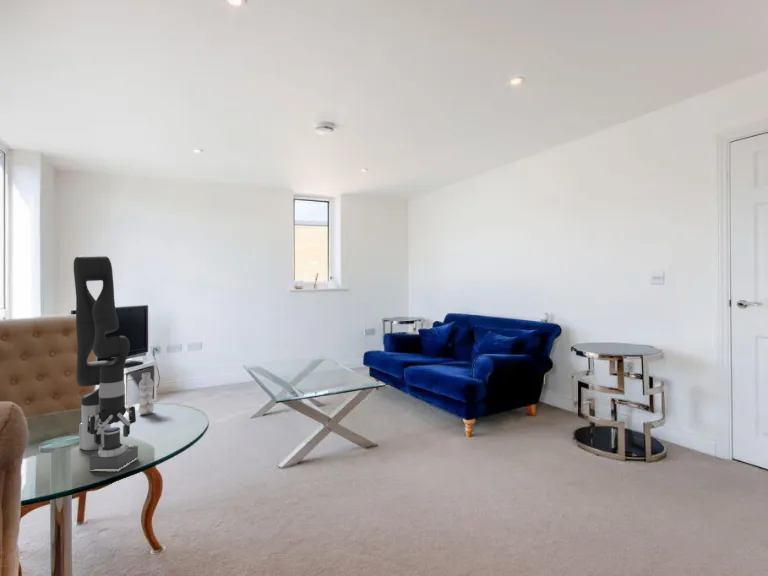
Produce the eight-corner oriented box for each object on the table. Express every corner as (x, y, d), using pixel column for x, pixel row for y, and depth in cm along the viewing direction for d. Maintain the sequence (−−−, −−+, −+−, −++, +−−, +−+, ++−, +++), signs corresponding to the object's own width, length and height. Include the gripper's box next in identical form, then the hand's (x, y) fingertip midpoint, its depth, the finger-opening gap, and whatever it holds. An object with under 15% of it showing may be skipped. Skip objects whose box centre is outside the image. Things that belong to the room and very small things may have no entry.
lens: (107, 456, 136) (107, 432, 136) (101, 453, 139) (100, 429, 139) (123, 451, 140) (122, 428, 140) (116, 448, 143) (116, 425, 143)
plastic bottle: (150, 411, 200) (150, 371, 200) (156, 413, 196) (156, 373, 196) (136, 414, 195) (136, 373, 195) (141, 417, 191) (141, 375, 191)
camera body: (89, 471, 136) (89, 451, 136) (111, 458, 146) (111, 439, 146) (118, 472, 136) (118, 451, 136) (137, 459, 146) (137, 440, 146)
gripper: (93, 400, 132) (93, 449, 132) (139, 390, 143) (139, 435, 144) (83, 397, 136) (83, 444, 136) (128, 387, 148) (129, 431, 148)
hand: (112, 440), depth 140 cm, fingers open, 8 cm apart
